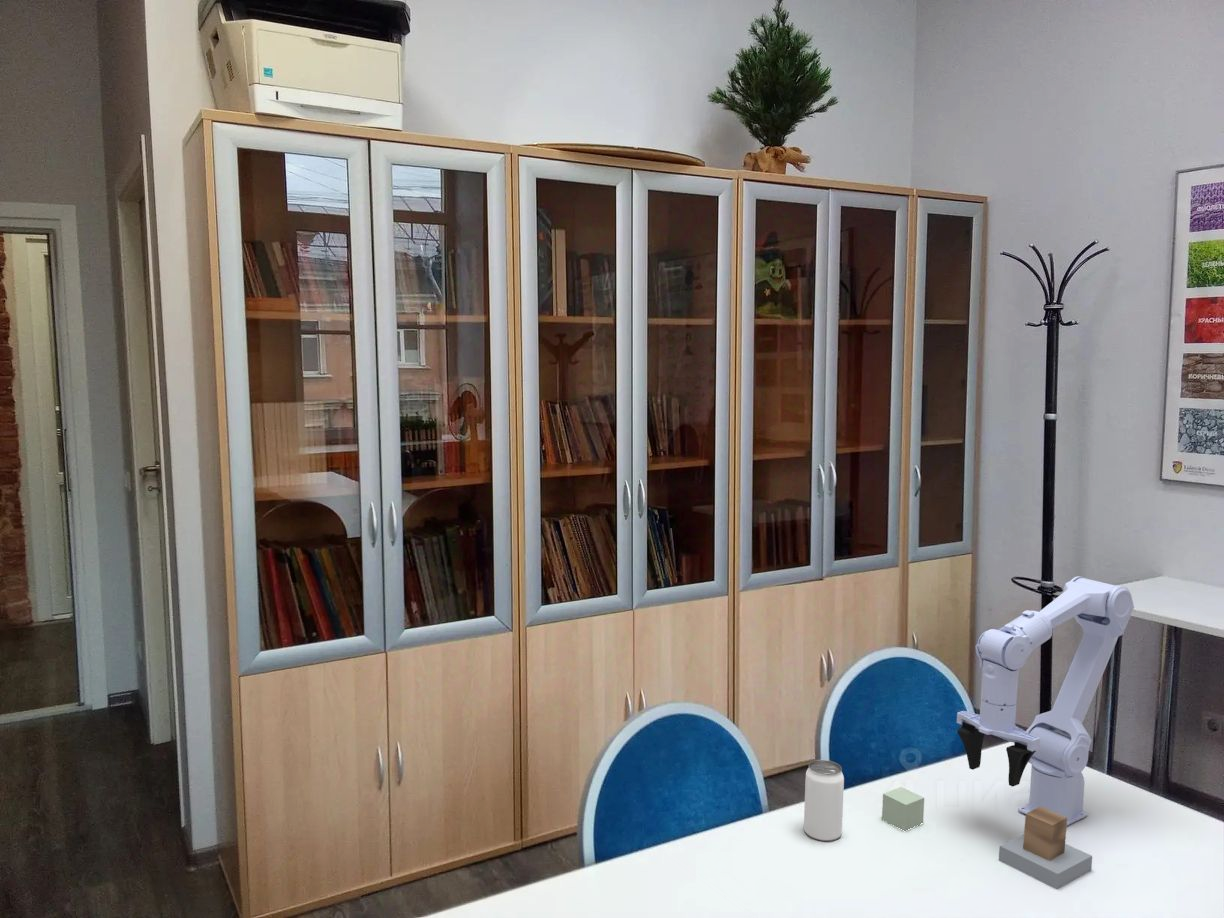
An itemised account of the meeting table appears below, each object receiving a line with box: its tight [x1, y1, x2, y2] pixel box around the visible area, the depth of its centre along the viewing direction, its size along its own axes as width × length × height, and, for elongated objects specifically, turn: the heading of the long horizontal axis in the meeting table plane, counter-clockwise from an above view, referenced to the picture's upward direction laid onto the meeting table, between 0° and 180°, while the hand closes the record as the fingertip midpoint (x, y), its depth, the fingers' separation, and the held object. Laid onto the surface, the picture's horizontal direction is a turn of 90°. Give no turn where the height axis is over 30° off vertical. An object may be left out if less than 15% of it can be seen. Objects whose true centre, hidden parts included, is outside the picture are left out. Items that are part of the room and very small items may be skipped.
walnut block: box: [1023, 806, 1068, 861], centre depth 148 cm, size 4×4×6 cm
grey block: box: [998, 834, 1093, 890], centre depth 149 cm, size 10×10×3 cm
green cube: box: [881, 786, 925, 832], centre depth 162 cm, size 5×5×5 cm
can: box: [803, 759, 845, 842], centre depth 158 cm, size 6×6×12 cm
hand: (993, 776), depth 158 cm, fingers open, 7 cm apart
